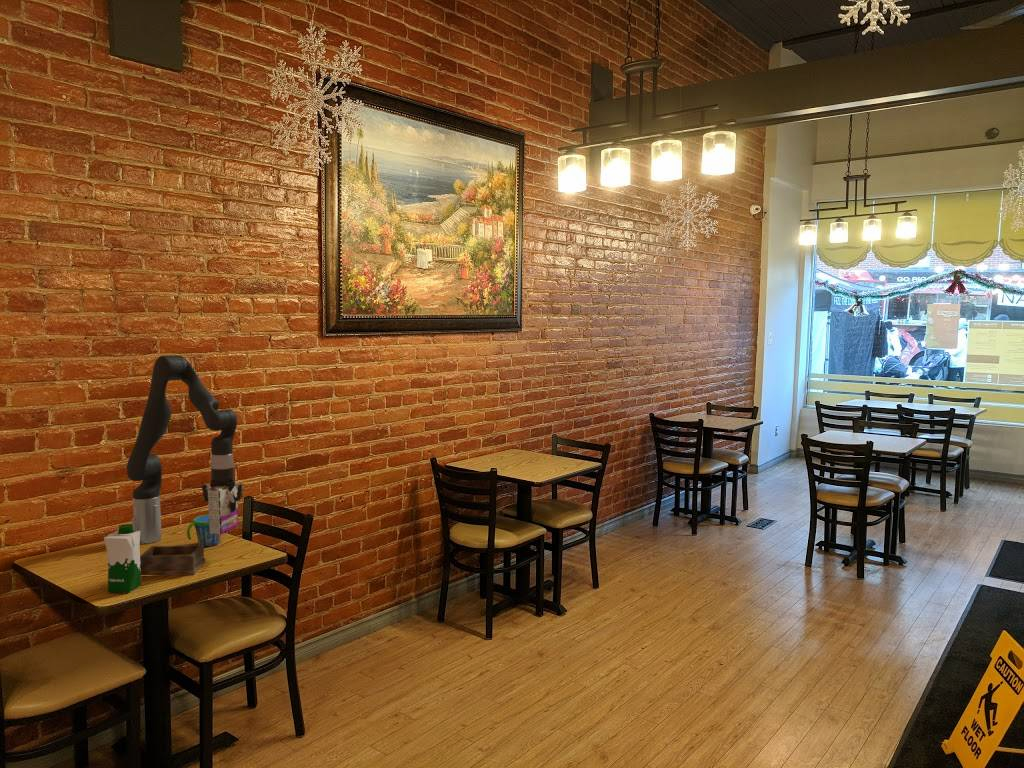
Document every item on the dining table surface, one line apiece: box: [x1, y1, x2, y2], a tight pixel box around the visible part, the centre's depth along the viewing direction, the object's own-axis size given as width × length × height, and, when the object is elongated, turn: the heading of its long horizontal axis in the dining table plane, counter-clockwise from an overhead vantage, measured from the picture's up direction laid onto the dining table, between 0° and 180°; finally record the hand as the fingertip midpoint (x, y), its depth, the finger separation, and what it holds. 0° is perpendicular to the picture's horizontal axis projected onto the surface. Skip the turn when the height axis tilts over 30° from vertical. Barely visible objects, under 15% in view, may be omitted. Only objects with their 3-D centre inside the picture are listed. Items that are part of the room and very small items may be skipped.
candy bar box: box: [207, 481, 240, 536], centre depth 259 cm, size 11×5×16 cm, turn 169°
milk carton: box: [103, 523, 142, 594], centre depth 231 cm, size 9×9×20 cm
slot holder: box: [140, 544, 206, 576], centre depth 250 cm, size 18×12×6 cm, turn 96°
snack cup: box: [186, 514, 230, 547], centre depth 276 cm, size 16×10×10 cm
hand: (223, 512), depth 259 cm, fingers closed on candy bar box, 6 cm apart
